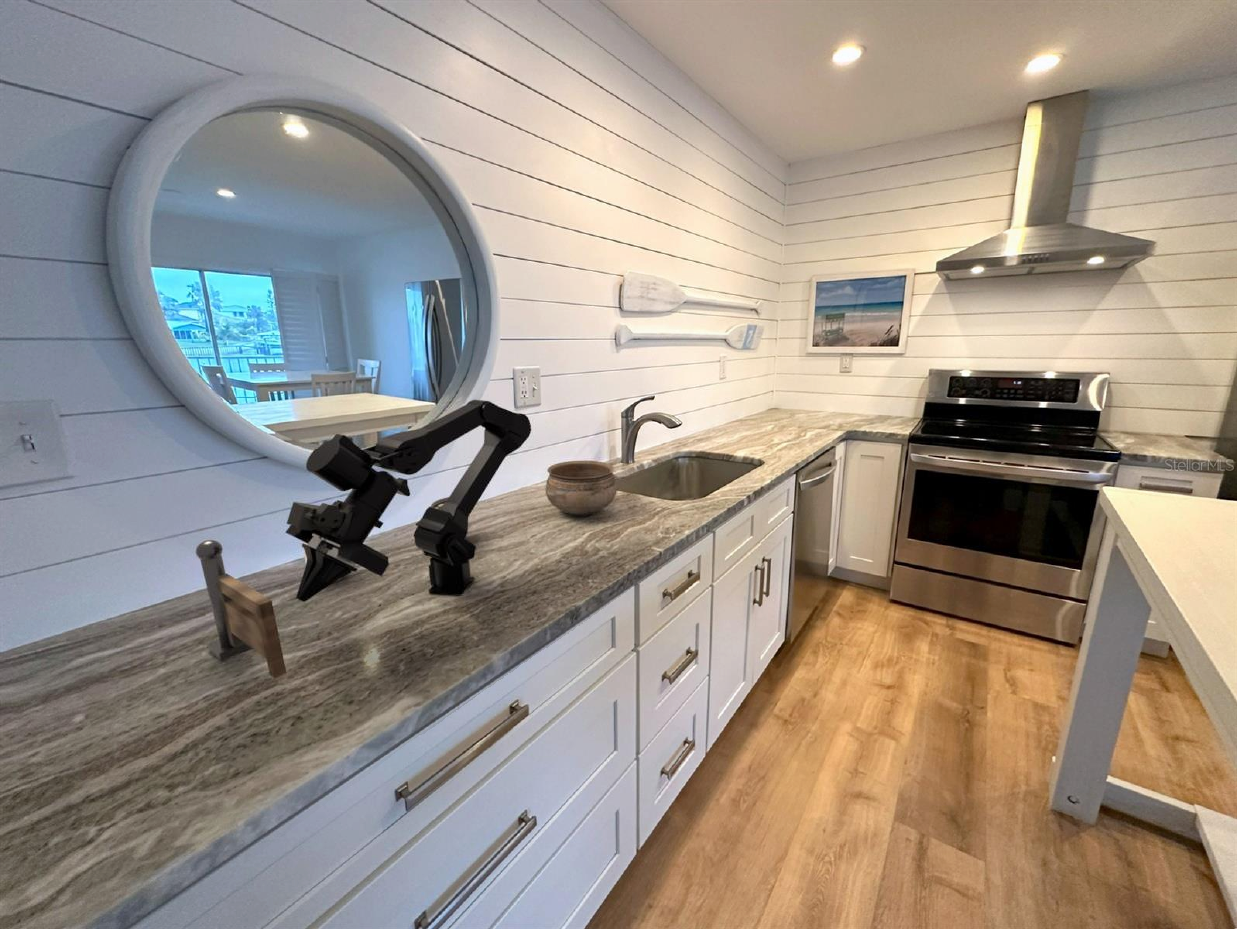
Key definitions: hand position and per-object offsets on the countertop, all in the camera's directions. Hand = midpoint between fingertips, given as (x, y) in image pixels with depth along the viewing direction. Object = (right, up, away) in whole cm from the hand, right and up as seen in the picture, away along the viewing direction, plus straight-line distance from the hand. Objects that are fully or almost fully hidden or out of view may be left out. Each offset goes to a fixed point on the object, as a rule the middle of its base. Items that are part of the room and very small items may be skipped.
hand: (300, 600), depth 71 cm
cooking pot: (+36, +6, +62) cm, 72 cm away
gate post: (-14, -9, +5) cm, 17 cm away
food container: (+7, +1, +42) cm, 42 cm away
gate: (-6, -8, 0) cm, 10 cm away
